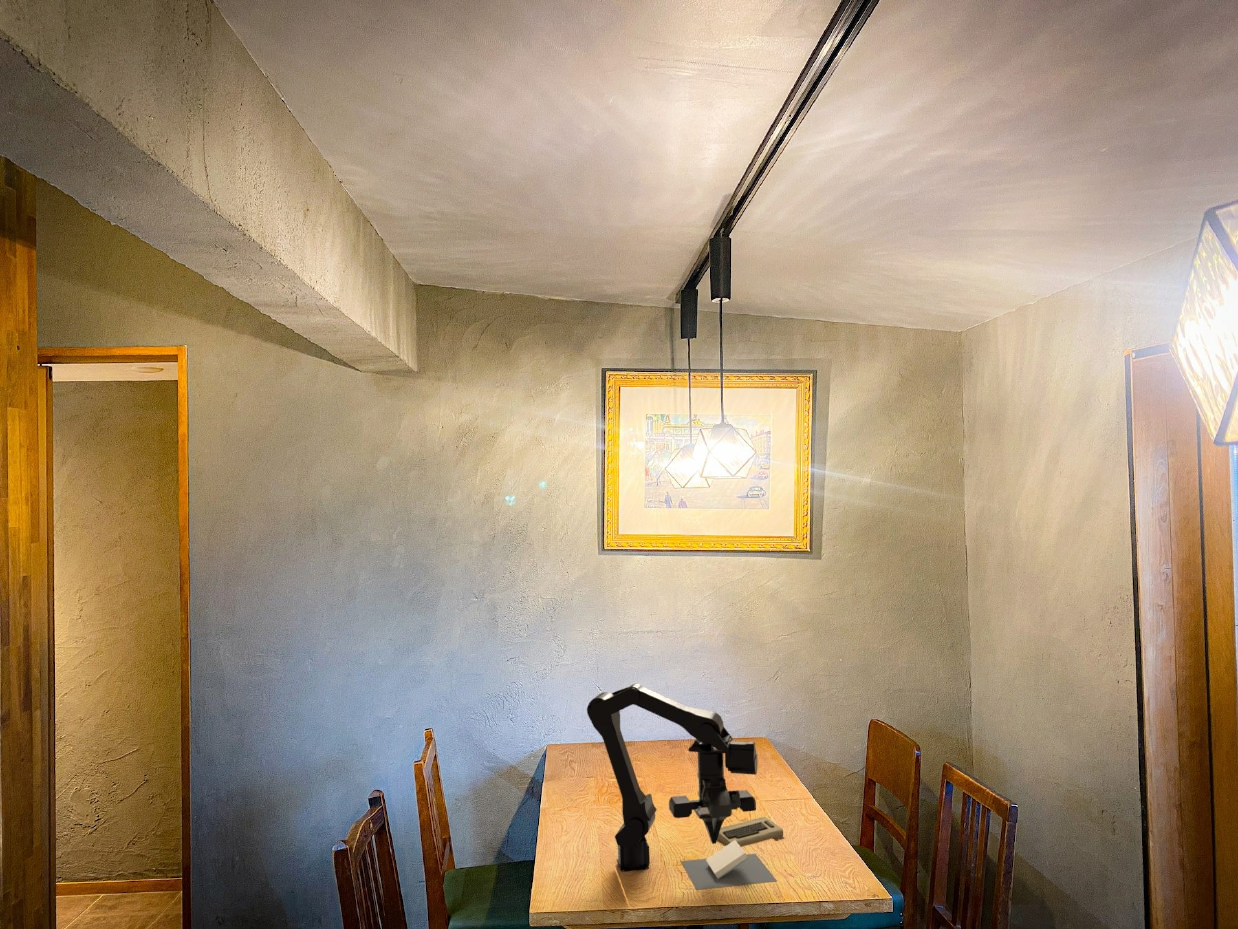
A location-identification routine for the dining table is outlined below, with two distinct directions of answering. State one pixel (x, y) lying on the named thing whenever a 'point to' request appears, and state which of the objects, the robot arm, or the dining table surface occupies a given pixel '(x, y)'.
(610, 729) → the robot arm
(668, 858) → the dining table surface
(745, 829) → the computer
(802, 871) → the dining table surface
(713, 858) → the tile
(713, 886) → the mat
